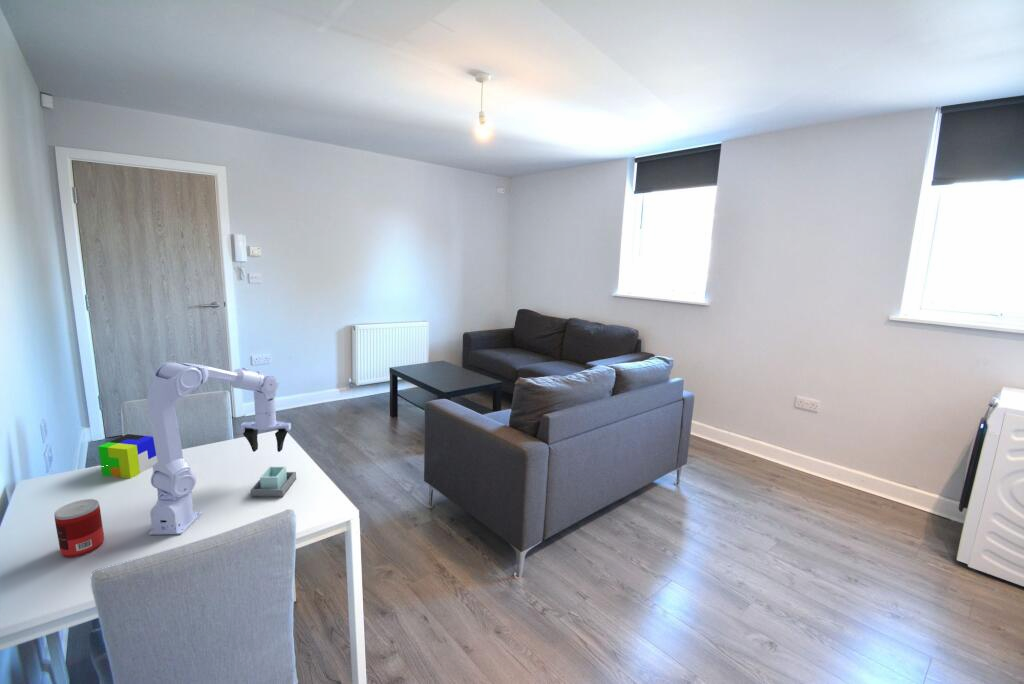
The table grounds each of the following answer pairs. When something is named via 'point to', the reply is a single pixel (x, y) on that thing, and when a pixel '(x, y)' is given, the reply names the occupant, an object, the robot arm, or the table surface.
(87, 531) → the canned food
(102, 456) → the puzzle toy
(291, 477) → the gray tray
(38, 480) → the table surface
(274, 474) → the small crate
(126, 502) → the table surface
